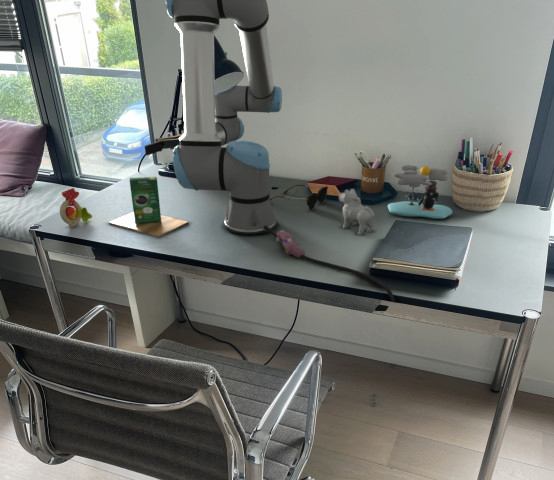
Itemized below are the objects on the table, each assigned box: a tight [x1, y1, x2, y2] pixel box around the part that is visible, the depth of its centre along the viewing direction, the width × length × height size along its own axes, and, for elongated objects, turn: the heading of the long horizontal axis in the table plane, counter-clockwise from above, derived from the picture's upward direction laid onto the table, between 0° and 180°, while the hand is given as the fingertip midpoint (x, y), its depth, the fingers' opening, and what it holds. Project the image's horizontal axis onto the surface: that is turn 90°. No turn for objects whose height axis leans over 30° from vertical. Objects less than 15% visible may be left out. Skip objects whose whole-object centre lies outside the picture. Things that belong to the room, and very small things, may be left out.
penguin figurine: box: [387, 164, 453, 220], centre depth 171 cm, size 20×11×15 cm, turn 72°
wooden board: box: [109, 211, 189, 238], centre depth 170 cm, size 20×13×1 cm, turn 57°
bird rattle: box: [59, 187, 93, 228], centre depth 167 cm, size 6×11×9 cm
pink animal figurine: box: [275, 229, 306, 259], centre depth 151 cm, size 10×5×7 cm, turn 17°
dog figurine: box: [338, 188, 375, 236], centre depth 164 cm, size 5×13×11 cm, turn 38°
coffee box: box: [129, 176, 162, 224], centre depth 166 cm, size 8×3×13 cm, turn 101°
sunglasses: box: [270, 184, 329, 211], centre depth 184 cm, size 14×16×5 cm
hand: (161, 154), depth 166 cm, fingers open, 12 cm apart
